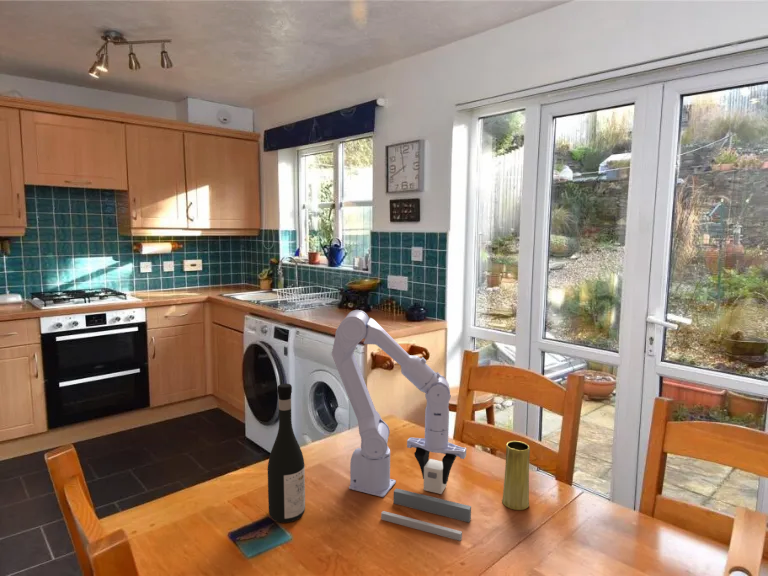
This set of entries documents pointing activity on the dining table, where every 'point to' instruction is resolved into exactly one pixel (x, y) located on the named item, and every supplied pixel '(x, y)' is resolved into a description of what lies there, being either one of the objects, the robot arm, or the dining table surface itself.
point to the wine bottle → (286, 467)
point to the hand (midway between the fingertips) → (435, 479)
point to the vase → (516, 476)
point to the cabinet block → (434, 476)
